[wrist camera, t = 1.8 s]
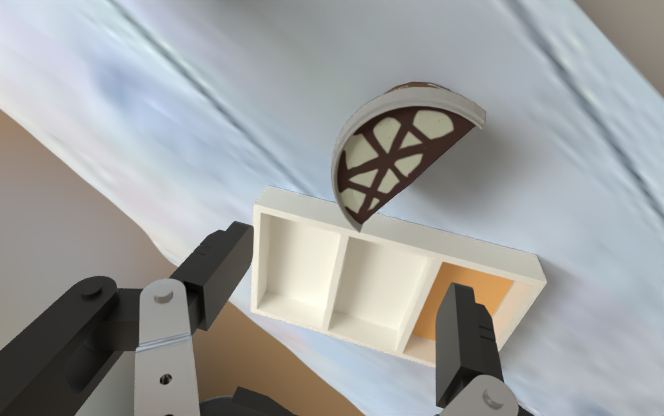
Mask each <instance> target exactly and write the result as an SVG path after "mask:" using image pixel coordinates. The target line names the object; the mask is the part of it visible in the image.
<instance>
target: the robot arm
mask: <svg viewBox="0 0 664 416" xmlns="http://www.w3.org/2000/svg"><path fill="white" fill-rule="evenodd" d="M253 246H254V227H253V226H252V225H248V224H244V223H241V222H237V221H234V222H233V223H232V224H231V225H230V227H229V228H228V229H227V230H226V231H222V230H218V231H216V232H214V233H212V234H210V235H208V236H207V237H206V238H205V239H204V240H203V241H202V242H201V244H200V246H198V247H197V248H196V249H195V250H194V252H193V253H191V254H190V256H189V257H188V258H187V259H186V260H185V261H184V262H183V263H182V264H181V265H180V266H179V267H178V269H177V270H176V271H175V272H174V273H173V274H172V275H171V277H169V278H168V279H161V280H157V281H154V282H152V283H150V284H149V285H148V286H146V287H145V288H144V289H123V288H120V289H119V288H117V285H116V283H115V281H114V280H113V279H111V278H109V277H105V276H94V277H90V278H86V279H84V280H82V281H80V282H78V283H77V284H75V285H73V286H72V287H71V288H70V289H69V290H68V291H67V292H65V294H63V295H62V296H61V297H60V298H59V299H58V300H57V301H55V302H54V303H53V304H52V305H51V306H50V307H49V308H48V309H47V310H45V311H44V312H43V313H42V314H41V315H40V316H39V317H38V318H37V319H35V320H34V321H33V322H32V323H31V324H30V325H29V326H28V327H26V328H25V329H24V330H23V331H22V332H21V333H20V334H19V335H17V336H16V337H15V338H14V339H13V340H12V341H11V342H10V343H9V344H7V345H6V346H5V347H4V348H3V349H2V350H1V351H0V416H74V415H75V414H76V412H77V411H78V410H79V409H80V408H81V406H82V405H83V404H84V402H85V401H86V400H87V398H88V397H89V396H90V395H91V393H92V392H93V391H94V390H95V388H96V387H97V386H98V384H99V383H100V382H101V381H102V379H103V378H104V377H105V375H106V374H107V372H108V371H109V370H110V369H111V367H112V366H113V365H114V364H115V362H116V361H117V360H118V359H119V357H120V356H121V355H122V353H123V352H124V351H136V356H135V398H134V416H297V415H294V414H293V413H291V412H290V411H288V410H287V409H285V408H284V407H282V406H281V405H279V404H278V403H277V402H275V401H274V400H272V399H271V398H269V397H268V396H265V395H262V394H259V393H257V392H254V391H250V390H248V389H245V388H242V387H238V388H237V390H236V392H235V394H234V396H219V397H215V398H211V399H208V400H205V401H203V402H201V403H199V397H198V389H197V380H196V372H195V364H194V355H193V347H192V338H191V337H192V335H193V334H194V332H195V331H196V329H197V328H198V329H201V330H205V331H208V329H209V328H210V326H211V324H212V323H213V321H214V320H215V318H216V317H217V315H218V314H219V312H220V311H221V309H222V308H223V306H224V305H225V303H226V302H227V300H228V299H229V297H230V296H231V294H232V293H233V291H234V290H235V288H236V287H237V285H238V284H239V282H240V281H241V279H242V278H243V276H244V275H245V273H246V272H247V270H248V269H249V267H250V265H251V262H252V258H253ZM435 348H436V406H438V407H441V408H444V410H443V411H442V412H441V413H440V414H439V415H438V414H436V415H435V416H534V415H532V414H531V413H529V412H528V411H526V410H525V409H523V408H522V407H521V406H520V405H519V404H518V402H517V399H516V397H515V395H514V394H513V392H512V391H511V390H510V388H509V387H508V386H507V385H506V384H504V380H503V375H502V369H501V364H500V358H499V353H498V348H497V343H496V337H495V332H494V326H493V320H492V317H491V315H490V314H489V312H488V310H487V309H486V307H485V305H482V304H479V303H475V295H474V289H473V288H472V287H469V286H466V285H462V284H459V283H455V282H452V283H451V284H450V286H449V288H448V290H447V292H446V294H445V296H444V298H443V300H442V302H441V304H440V306H439V309H438V311H437V315H436V321H435Z"/></svg>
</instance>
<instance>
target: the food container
mask: <svg viewBox="0 0 664 416" xmlns="http://www.w3.org/2000/svg"><path fill="white" fill-rule="evenodd" d="M485 119H486V111H484V110H483V109H482V108H481V107H479V106H478V105H477V104H476V103H474V102H472V101H471V100H469V99H467V98H465V97H463V96H462V95H459V94H456V93H453V92H451V91H450V90H448V89H446V88H443V87H441V86H438V85H436V84H433V83H426V82H410V83H407V84H403V85H399V86H396V87H394V88H392V89H391V90H389V91H388V92H386V93H384V94H383V95H381V96H379V97H377V98H375V99H373V100H371V101H370V102H368V103H367V104H366V105H364V106H363V107H361V108H360V109H359V110H358V111H357V112H356V113H355V114H354V115H353V116H352V117H351V118H350V119H349V120H348V122H347V123H346V124H345V126H344V127H343V129H342V131H341V133H340V135H339V137H338V139H337V141H336V144H335V148H334V151H333V158H332V168H331V179H332V187H333V192H334V195H335V198H336V201H337V203H338V206H339V208H340V210H341V212H342V214H343V215H344V217H345V218H346V220H347V221H348V222H349V223H350V225H351V226H352V227H353V228H354V229H355V230H356V231H357V232H358V233H360V232H361V229H362V226H363V224H364V222H365V221H367V220H368V219H369V218H370V217H371V216H372V215H373V214H374V213H375V212H376V211H377V210H379V209H380V208H381V207H382V206H383V205H385V204H386V203H387V202H388V201H389V200H391V199H392V198H393V197H394V196H396V195H397V194H398V193H399V192H401V191H402V190H403V189H405V188H406V187H407V186H408V185H410V184H411V183H412V182H413V181H414V180H415V179H416V178H417V177H419V176H420V175H421V174H422V173H423V172H424V171H425V170H426V169H427V168H428V167H429V166H430V165H431V164H433V163H434V162H435V161H436V160H437V159H438V158H439V157H440V156H441V155H442V154H444V153H445V152H446V151H447V150H448V149H449V148H451V147H452V146H453V145H454V144H455V143H456V142H457V141H459V140H460V139H461V138H462V137H463V136H464V135H465V134H467V133H468V132H469V131H470V130H471V129H472V128H473V127H475V126H476V125H477V126H478V127H479V128H481V129H483V127H482V124H483V123H485Z"/></svg>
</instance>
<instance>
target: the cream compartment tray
mask: <svg viewBox="0 0 664 416" xmlns="http://www.w3.org/2000/svg"><path fill="white" fill-rule="evenodd" d="M253 227H254V246H253V258H252V278H251V312H254V313H257V314H260V315H263V316H267V317H270V318H273V319H276V320H280V321H283V322H286V323H289V324H293V325H296V326H299V327H303V328H306V329H309V330H312V331H316V332H319V333H322V334H325V335H329V336H332V337H335V338H338V339H342V340H345V341H348V342H351V343H355V344H358V345H361V346H365V347H368V348H371V349H374V350H378V351H381V352H384V353H387V354H391V355H394V356H397V357H400V358H404V359H407V360H410V361H413V362H417V363H420V364H423V365H426V366H430V367H433V368H436V348H435V321H436V315H437V311H438V309H439V306H440V304H441V302H442V300H443V298H444V296H445V294H446V292H447V290H448V288H449V286H450V284H451V283H452V282H455V283H459V284H462V285H466V286H469V287H472V288H473V289H474V295H475V303H479V304H482V305H485V307H486V309H487V310H488V312H489V314H490V315H491V317H492V320H493V326H494V332H495V337H496V343H497V348H498V352H499V351H500V350H501V348H502V347H503V345H504V344H505V342H506V341H507V340H508V338H509V337H510V335H511V334H512V332H513V331H514V329H515V328H516V327H517V325H518V324H519V322H520V321H521V319H522V318H523V317H524V315H525V314H526V312H527V311H528V309H529V308H530V306H531V305H532V304H533V302H534V301H535V299H536V298H537V296H538V295H539V294H540V292H541V291H542V289H543V288H544V286H545V285H546V284H547V280H546V278H545V275H544V273H543V270H542V268H541V265H540V263H539V260H538V258H537V255H535V254H531V253H527V252H523V251H519V250H516V249H512V248H508V247H504V246H500V245H496V244H492V243H489V242H485V241H481V240H477V239H473V238H469V237H465V236H462V235H458V234H454V233H450V232H446V231H442V230H438V229H435V228H431V227H427V226H423V225H419V224H415V223H411V222H408V221H404V220H400V219H396V218H392V217H388V216H384V215H381V214H377V213H374V214H373V215H372V216H371V217H370V218H369V219H368V220H367V221H365V222H364V224H363V226H362V229H361V232H360V233H358V232H357V231H356V230H355V229H354V228H353V227H352V226H351V225H350V223H349V222H348V221H347V220H346V218H345V217H344V215H343V214H342V212H341V210H340V208H339V206H338V203H334V202H330V201H326V200H323V199H319V198H315V197H311V196H307V195H303V194H299V193H296V192H292V191H288V190H284V189H280V188H276V187H272V186H268V187H267V188H266V189H265V191H264V192H263V193H262V194H261V195H260V197H259V198H258V199H257V200H256V201H255V203H254V204H253Z"/></svg>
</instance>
